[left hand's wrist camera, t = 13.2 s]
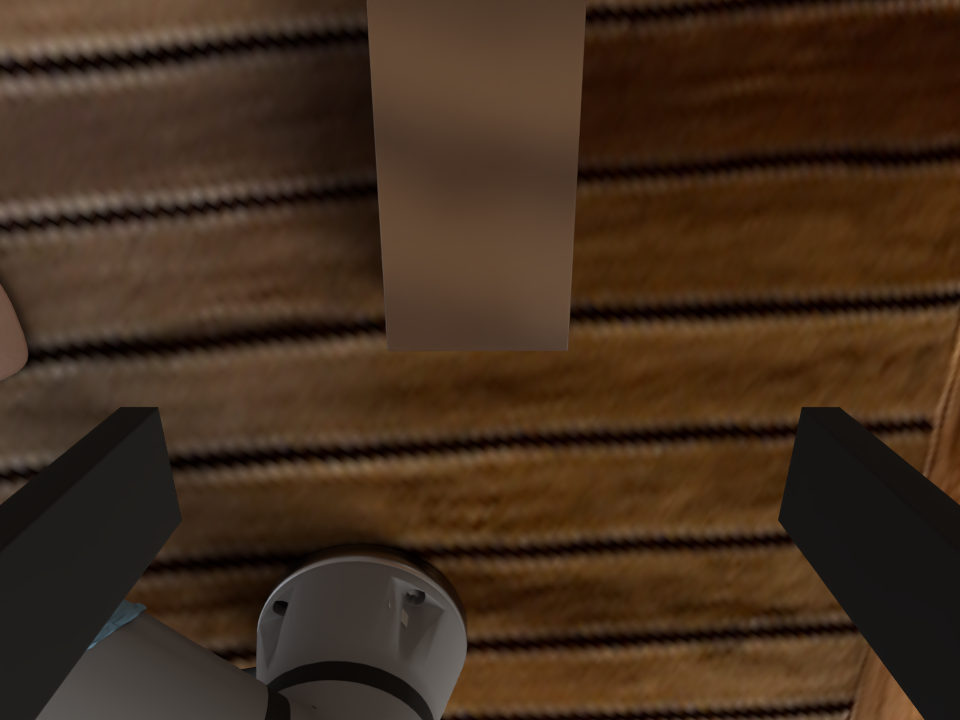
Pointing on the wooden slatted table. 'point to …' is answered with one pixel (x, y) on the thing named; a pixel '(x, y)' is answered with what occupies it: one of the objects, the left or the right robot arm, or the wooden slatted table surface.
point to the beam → (476, 169)
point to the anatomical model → (10, 339)
